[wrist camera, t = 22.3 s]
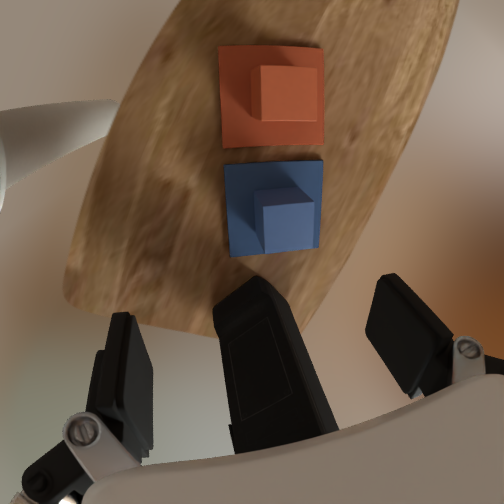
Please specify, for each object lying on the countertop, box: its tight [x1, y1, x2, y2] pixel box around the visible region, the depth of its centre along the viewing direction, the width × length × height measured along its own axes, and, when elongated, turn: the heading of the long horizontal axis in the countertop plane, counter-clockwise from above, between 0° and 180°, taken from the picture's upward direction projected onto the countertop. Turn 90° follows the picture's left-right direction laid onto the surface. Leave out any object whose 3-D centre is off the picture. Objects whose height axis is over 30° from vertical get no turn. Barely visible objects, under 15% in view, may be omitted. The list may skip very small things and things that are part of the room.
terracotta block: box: [251, 65, 317, 121], centre depth 21 cm, size 4×4×4 cm
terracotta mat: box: [218, 45, 324, 148], centre depth 23 cm, size 9×9×1 cm
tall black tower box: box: [213, 276, 339, 454], centre depth 23 cm, size 8×6×25 cm
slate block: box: [254, 187, 314, 254], centre depth 27 cm, size 4×4×4 cm
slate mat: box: [224, 160, 323, 257], centre depth 29 cm, size 9×9×1 cm
